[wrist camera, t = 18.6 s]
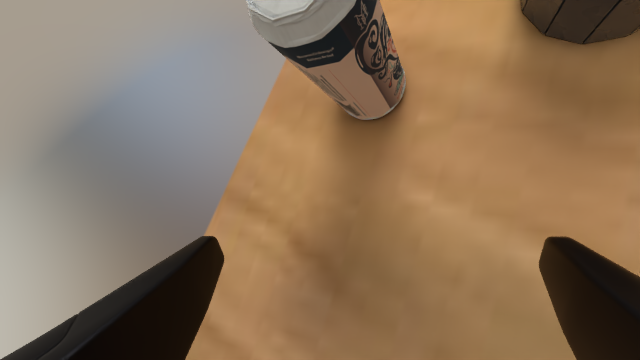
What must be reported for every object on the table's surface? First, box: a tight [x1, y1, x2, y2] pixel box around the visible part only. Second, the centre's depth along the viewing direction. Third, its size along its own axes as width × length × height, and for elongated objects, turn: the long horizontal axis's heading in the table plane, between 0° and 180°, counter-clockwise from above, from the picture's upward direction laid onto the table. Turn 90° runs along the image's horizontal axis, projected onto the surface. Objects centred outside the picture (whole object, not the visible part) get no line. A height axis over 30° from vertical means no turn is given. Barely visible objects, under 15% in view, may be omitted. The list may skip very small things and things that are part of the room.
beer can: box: [246, 0, 406, 120], centre depth 15 cm, size 5×5×12 cm
